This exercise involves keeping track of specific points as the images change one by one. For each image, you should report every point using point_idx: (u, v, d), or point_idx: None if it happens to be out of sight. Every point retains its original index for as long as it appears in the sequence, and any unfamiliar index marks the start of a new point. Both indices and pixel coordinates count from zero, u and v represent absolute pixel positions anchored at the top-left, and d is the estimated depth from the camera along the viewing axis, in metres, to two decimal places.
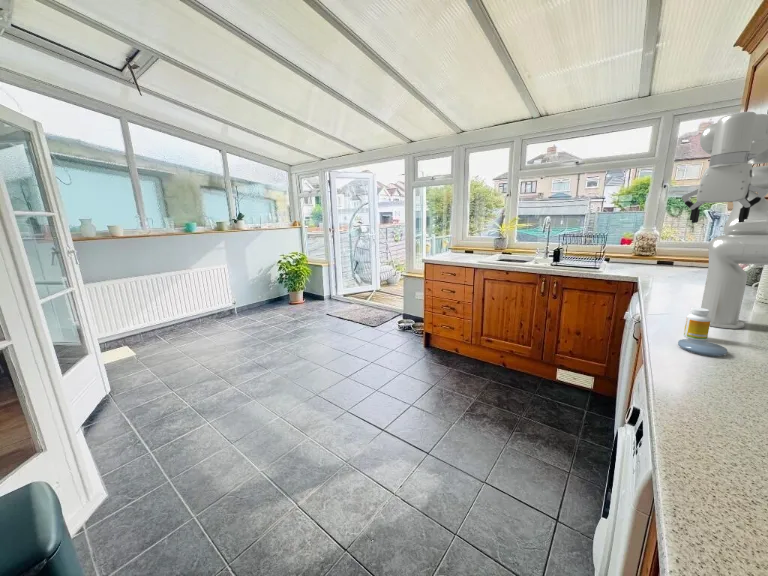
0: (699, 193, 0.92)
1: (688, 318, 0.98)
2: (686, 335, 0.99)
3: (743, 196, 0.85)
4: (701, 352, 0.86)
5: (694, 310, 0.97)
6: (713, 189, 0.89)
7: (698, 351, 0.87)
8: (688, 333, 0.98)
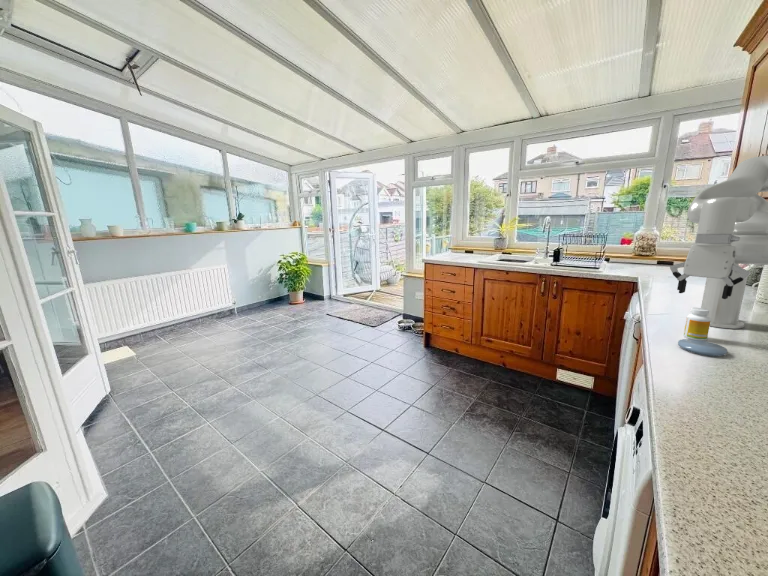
0: (686, 266, 0.96)
1: (688, 318, 0.98)
2: (686, 335, 0.99)
3: (726, 275, 0.89)
4: (701, 352, 0.86)
5: (694, 310, 0.97)
6: (698, 265, 0.94)
7: (698, 351, 0.87)
8: (688, 333, 0.98)
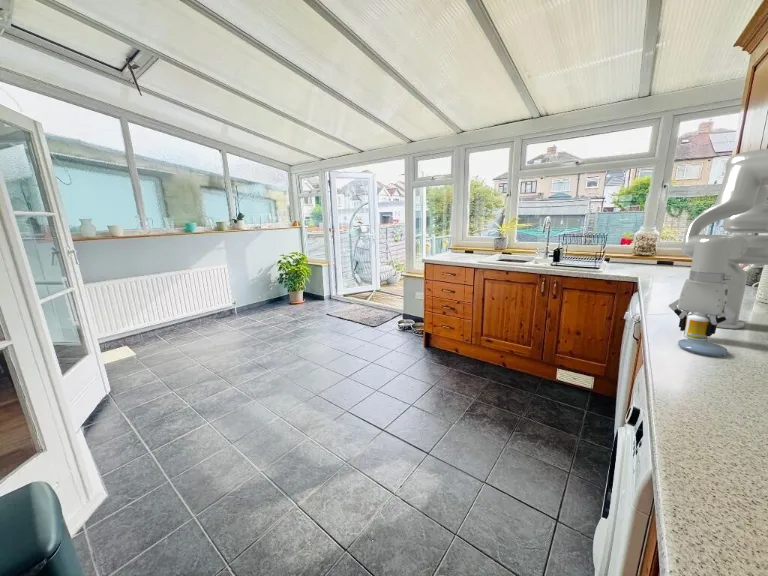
0: (680, 301, 0.99)
1: (688, 318, 0.98)
2: (686, 335, 0.99)
3: (719, 313, 0.92)
4: (701, 352, 0.86)
5: None
6: (692, 301, 0.96)
7: (698, 351, 0.87)
8: (688, 333, 0.98)
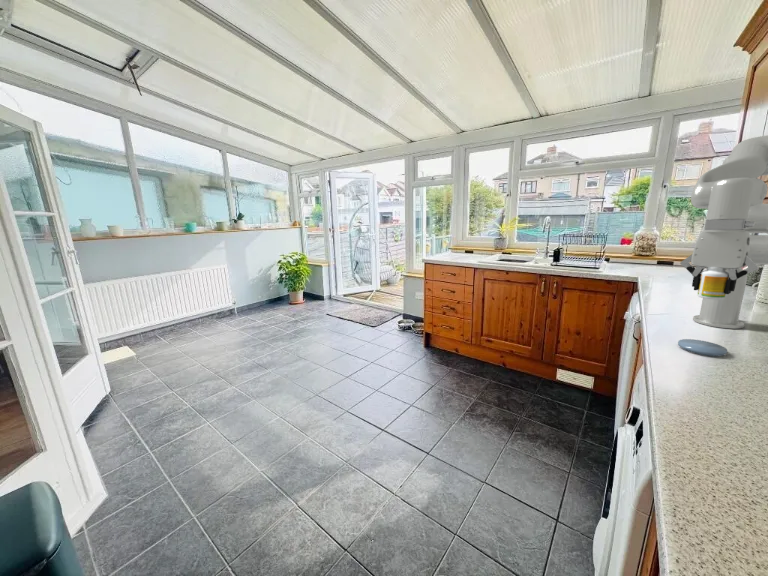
0: (694, 256, 0.87)
1: (703, 274, 0.86)
2: (700, 294, 0.87)
3: (740, 265, 0.80)
4: (701, 352, 0.86)
5: None
6: (708, 254, 0.85)
7: (698, 351, 0.87)
8: (703, 292, 0.86)
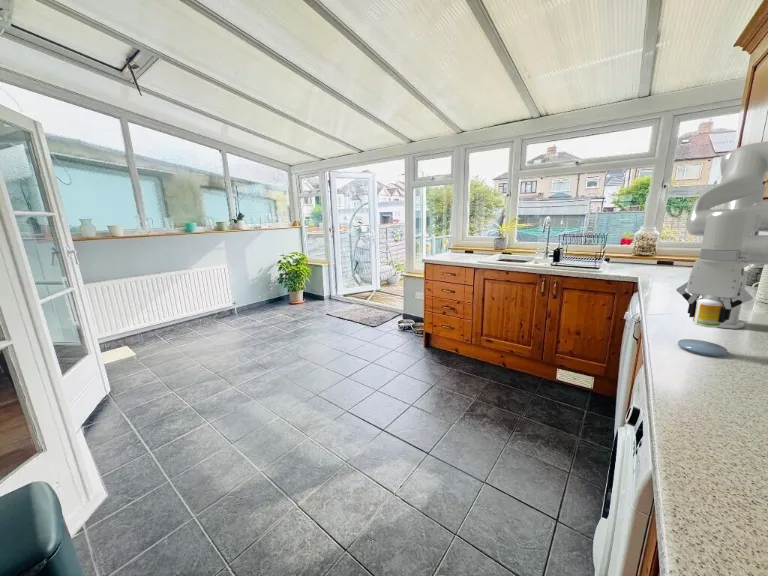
0: (689, 284, 0.88)
1: (698, 302, 0.87)
2: (696, 322, 0.88)
3: (734, 295, 0.81)
4: (701, 352, 0.86)
5: None
6: (703, 283, 0.86)
7: (698, 351, 0.87)
8: (698, 320, 0.88)
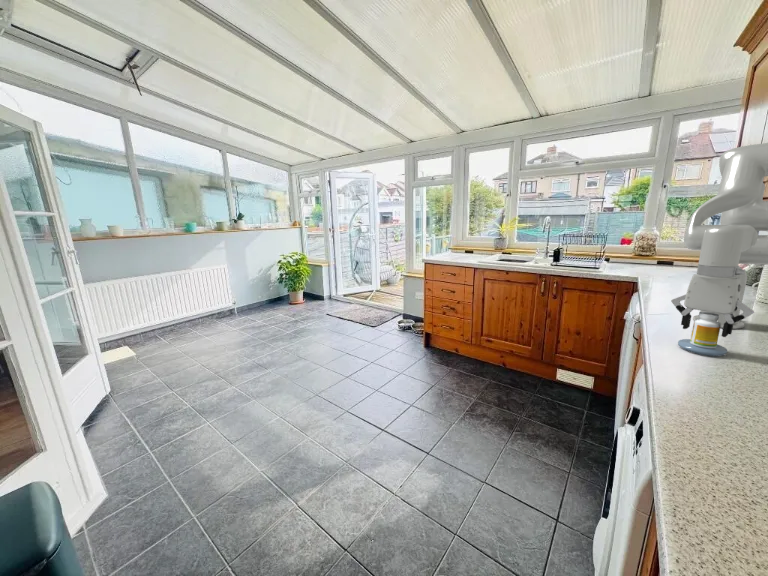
0: (687, 299, 0.89)
1: (695, 323, 0.89)
2: (693, 342, 0.90)
3: (731, 311, 0.82)
4: (701, 352, 0.86)
5: (702, 314, 0.88)
6: (700, 298, 0.87)
7: (698, 351, 0.87)
8: (695, 340, 0.89)
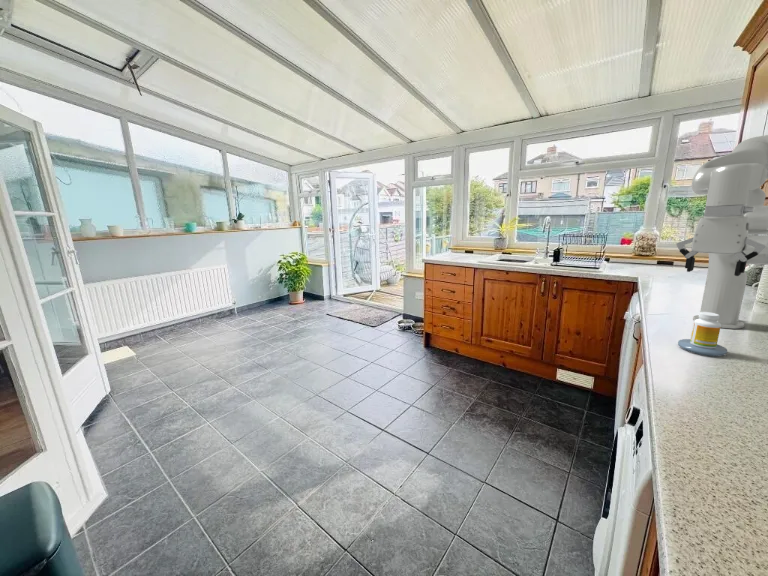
0: (694, 243, 0.89)
1: (695, 323, 0.89)
2: (693, 342, 0.90)
3: (739, 250, 0.82)
4: (701, 352, 0.86)
5: (702, 315, 0.88)
6: (708, 240, 0.86)
7: (698, 351, 0.87)
8: (695, 340, 0.89)
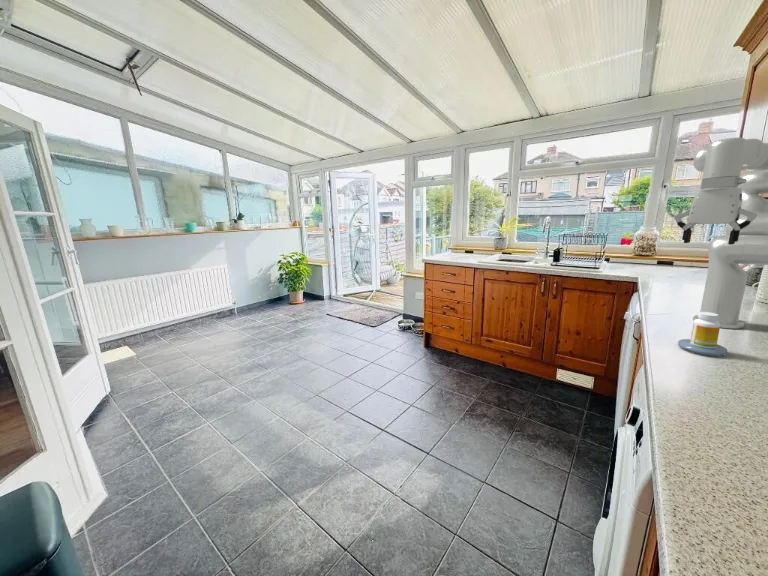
0: (691, 215, 0.94)
1: (695, 323, 0.89)
2: (693, 342, 0.90)
3: (733, 219, 0.87)
4: (701, 352, 0.86)
5: (701, 315, 0.88)
6: (704, 211, 0.91)
7: (698, 351, 0.87)
8: (695, 340, 0.89)
